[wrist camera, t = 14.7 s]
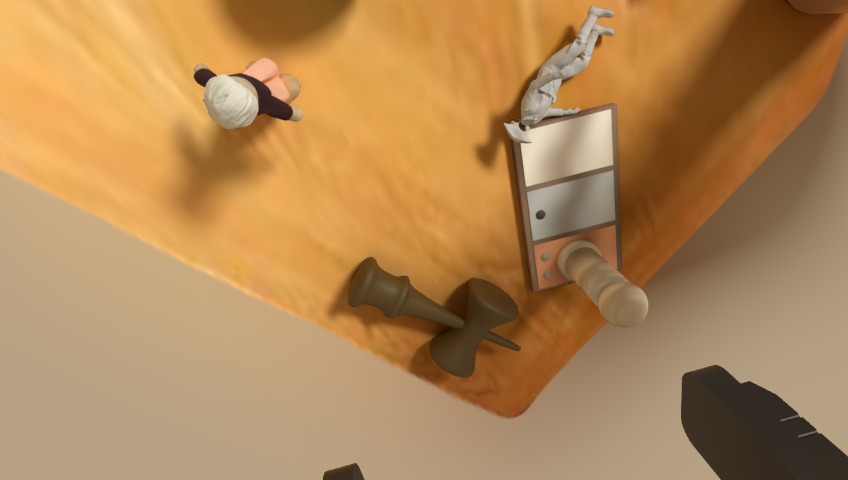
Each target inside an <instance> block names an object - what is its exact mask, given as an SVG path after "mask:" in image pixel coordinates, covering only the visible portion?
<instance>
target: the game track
mask: <svg viewBox="0 0 848 480" xmlns="http://www.w3.org/2000/svg"><path fill="white" fill-rule="evenodd" d="M529 127H530V130H529V132H528V131H527V130H525V129H526V126H525V125H523V126H519V128H520V129H521V130H522V131H523V132H524V133H526V134H527V135H526V136H528V137H529V139H530V140H531V142H532V143H519V142H516V141H514V140H512V139H511V143H512V150H513V158H514V165H515V172H516V180H517V187H518V194H519V202H520V209H521V216H522V224H523V231H524V238H525V246H526V253H527V260H528V268H529V275H530V282H531V289H532V291H533V292H538V291H542V290H546V289H550V288H554V287H558V286H562V285H565V284H569V283H573V282H575V281H571V280H569V279H567V278H566V277H565V276H564V275H563V274H562V272H561V271H560V270H559V268H558V266H557V256H558V254H559V252H560V250H561V249H562V247H563V246H564V245H566V244H567V243H568V242H570V241H572V240H575V239H586V240H589V241H590V242H592V243H593V244H594V245H595V246H596V247H597V248H598V249H599V250H600V252H601V254H602V258H604V259H605V260H606V261H607V262H608V263H609V264H610V265H611V266H612V267H614V268H615V269H616V270H617V271H620V270H622V252H621V221H620V191H619V160H618V129H617V104H614V103H611V104H607V105H603V106H599V107H595V108H591V109H587V110H583V111H579V112H577V113H576V114H573V115H563V116H559V117H555V118H551V119H547V120H543V121H539V122H538V123H537V124H533V125H529Z"/></svg>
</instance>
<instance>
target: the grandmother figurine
mask: <svg viewBox="0 0 848 480" xmlns="http://www.w3.org/2000/svg"><path fill="white" fill-rule="evenodd" d="M194 72H195V74H194V79H195V80H196V82H197V83H198V84H200V85H201V86H203V87H205V91H204V98H205V99H203V101H204V103H205V105H206V107H207V110H208V113H209V115H210V117H211V118H212V119H213V121H214V122H215V123H217V124H219V125H220V126H222V127H223V128H226V129H234V128H236V127H246V126H248V125H250V124H251V123H252V122H253V120H254V119H255V117H256V116H258V115H260V114H262V113H265V114H267V115H269V116H271V117H274V118H278V119H282V120H290V121H294V122H297V121H300V120H301V118H302V112H301V110H300V109H298V108H294V107H292V106H289V105H288V104H289V103H290V102H291V101H292V100H293V99H294V98H295V97H296V96H297V95H298V94H299V92H300V84H299V82H298V80H297V79H296V78H294V77H293V76H291V75H288V74H284V75H281V76H280V77H279V70H278V67H277V65H276V64H275V63H274V62H273V61H272V60H270V59H267V58H262V59H260V60H258V61H254V62H251V63H250V64H249V65H248V66H247V69H246V70H245V71H244V72H243V73H238V74H233V75H224V74H221V75H218V76H217V75H216V74H214V73H213V72H212V71H210V70H209V68H208V67H207V66H206V65H205V64H197V65H196V66H195V68H194Z"/></svg>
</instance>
